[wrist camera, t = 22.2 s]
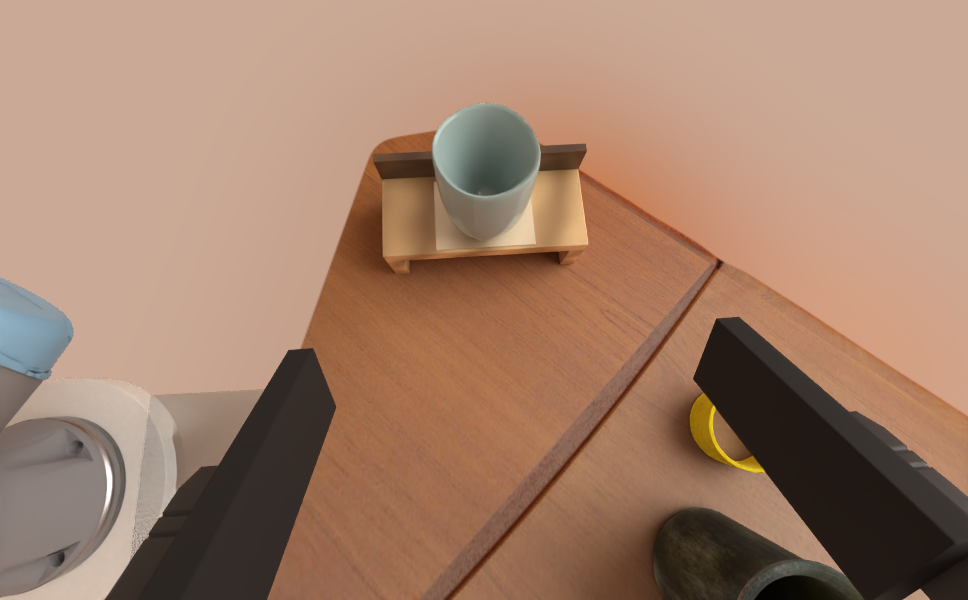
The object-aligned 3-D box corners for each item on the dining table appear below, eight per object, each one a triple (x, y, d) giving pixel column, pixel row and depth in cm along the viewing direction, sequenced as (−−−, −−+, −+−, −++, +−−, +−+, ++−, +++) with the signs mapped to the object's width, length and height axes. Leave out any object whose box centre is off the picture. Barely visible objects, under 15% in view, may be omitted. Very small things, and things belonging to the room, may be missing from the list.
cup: (538, 224, 35) (562, 164, 25) (471, 265, 34) (468, 219, 24) (495, 164, 36) (502, 84, 26) (429, 201, 35) (410, 133, 25)
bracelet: (766, 470, 36) (794, 480, 33) (687, 457, 36) (707, 465, 33) (765, 396, 37) (792, 398, 34) (690, 384, 38) (709, 385, 34)
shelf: (396, 274, 40) (373, 245, 31) (395, 201, 42) (373, 154, 33) (572, 263, 40) (598, 232, 32) (563, 192, 42) (585, 143, 33)
